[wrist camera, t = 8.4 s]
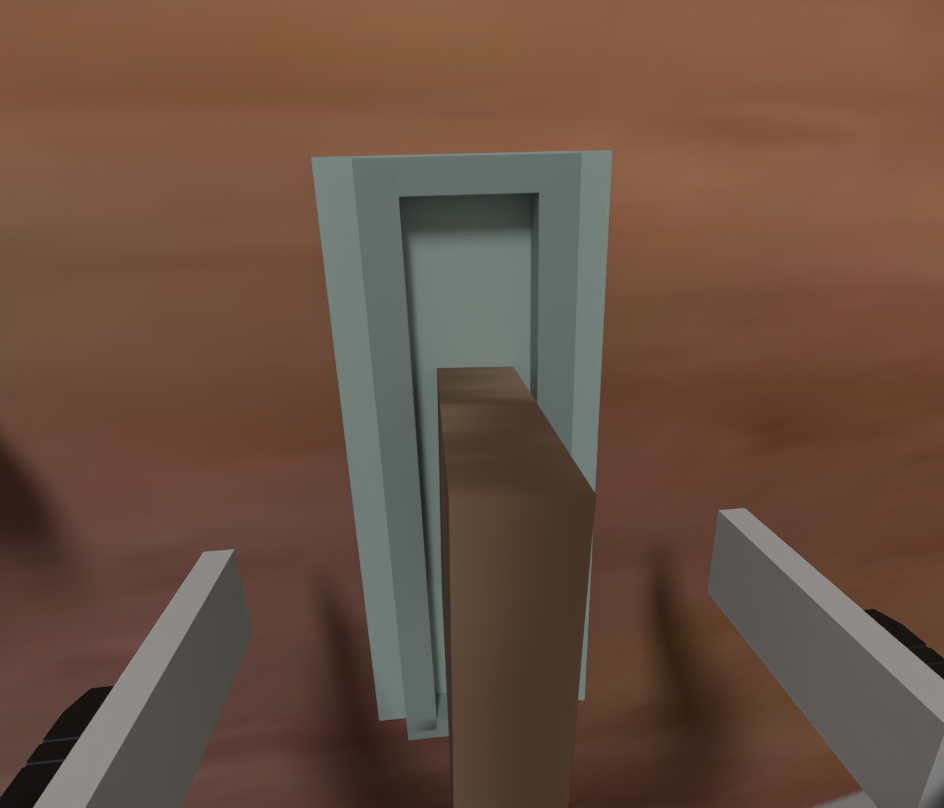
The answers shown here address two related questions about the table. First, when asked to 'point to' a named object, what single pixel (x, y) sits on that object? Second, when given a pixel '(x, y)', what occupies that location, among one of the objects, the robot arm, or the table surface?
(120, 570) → the table surface
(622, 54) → the table surface
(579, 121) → the table surface
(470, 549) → the slider block
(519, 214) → the track base
